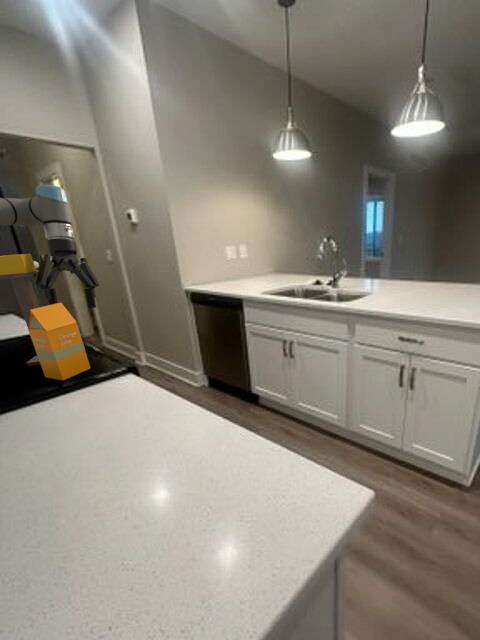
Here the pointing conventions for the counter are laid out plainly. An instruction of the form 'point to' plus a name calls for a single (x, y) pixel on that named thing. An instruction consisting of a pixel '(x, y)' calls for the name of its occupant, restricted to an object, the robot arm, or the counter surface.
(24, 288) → the tall stand
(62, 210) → the robot arm
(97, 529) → the counter surface
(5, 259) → the yellow rectangular block
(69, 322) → the orange juice
